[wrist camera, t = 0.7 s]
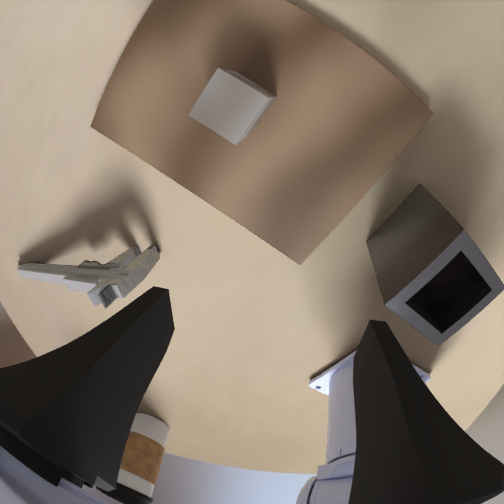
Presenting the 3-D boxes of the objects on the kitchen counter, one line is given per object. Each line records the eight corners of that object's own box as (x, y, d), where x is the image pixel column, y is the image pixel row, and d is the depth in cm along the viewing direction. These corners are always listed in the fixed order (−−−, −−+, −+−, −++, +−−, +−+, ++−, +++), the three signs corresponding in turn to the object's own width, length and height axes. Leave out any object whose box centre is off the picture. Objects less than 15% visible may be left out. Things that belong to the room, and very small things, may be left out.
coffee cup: (187, 431, 37) (158, 517, 24) (163, 437, 41) (135, 510, 29) (138, 403, 35) (99, 491, 23) (120, 412, 39) (86, 486, 27)
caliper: (159, 240, 21) (114, 294, 15) (164, 253, 21) (122, 309, 16) (19, 263, 26) (-15, 295, 21) (24, 271, 26) (-10, 304, 21)
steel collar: (463, 232, 16) (505, 287, 11) (413, 282, 18) (437, 346, 13) (420, 183, 15) (463, 229, 10) (366, 241, 18) (384, 305, 12)
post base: (423, 110, 13) (463, 121, 9) (300, 252, 19) (297, 301, 15) (192, -33, 11) (156, -63, 6) (103, 122, 17) (53, 138, 13)
